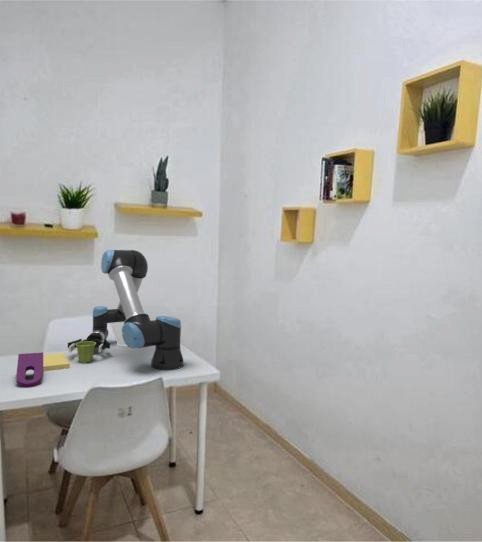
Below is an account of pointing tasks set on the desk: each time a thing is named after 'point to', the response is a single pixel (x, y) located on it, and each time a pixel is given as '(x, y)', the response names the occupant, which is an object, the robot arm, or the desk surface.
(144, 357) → the desk surface
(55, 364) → the shelf board
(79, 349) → the plant pot
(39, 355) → the mounting bracket
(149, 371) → the desk surface
